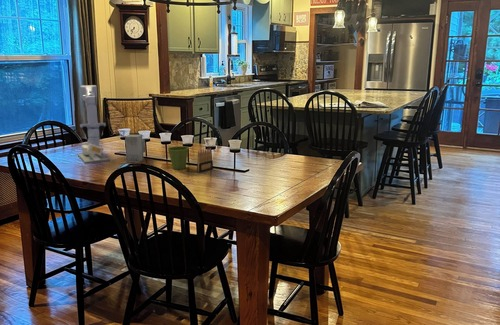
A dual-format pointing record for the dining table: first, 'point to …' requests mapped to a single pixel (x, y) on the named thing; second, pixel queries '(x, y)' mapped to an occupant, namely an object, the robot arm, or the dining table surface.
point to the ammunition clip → (204, 161)
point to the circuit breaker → (134, 148)
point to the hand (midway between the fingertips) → (94, 138)
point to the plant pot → (178, 156)
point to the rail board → (91, 156)
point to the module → (95, 149)
